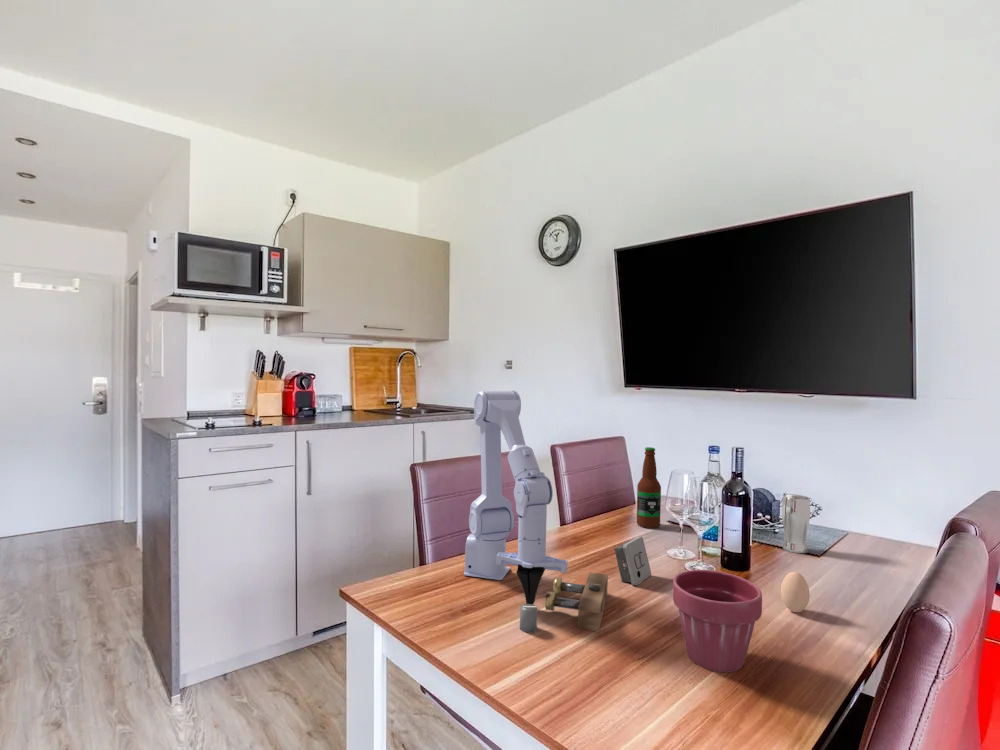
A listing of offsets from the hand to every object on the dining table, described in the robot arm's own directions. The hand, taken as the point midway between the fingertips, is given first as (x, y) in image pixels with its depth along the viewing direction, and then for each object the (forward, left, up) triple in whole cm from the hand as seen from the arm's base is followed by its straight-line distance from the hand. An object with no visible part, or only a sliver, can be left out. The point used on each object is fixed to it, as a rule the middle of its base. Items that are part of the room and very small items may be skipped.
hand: (530, 602), depth 109 cm
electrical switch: (+19, +24, -2) cm, 31 cm away
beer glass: (+62, +61, -2) cm, 87 cm away
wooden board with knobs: (+12, +4, -1) cm, 13 cm away
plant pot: (+34, -8, -2) cm, 35 cm away
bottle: (+22, +71, -2) cm, 75 cm away
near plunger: (+7, 0, -1) cm, 7 cm away
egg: (+52, +17, -2) cm, 55 cm away
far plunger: (+7, +8, -1) cm, 11 cm away
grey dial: (+1, -8, -2) cm, 8 cm away
